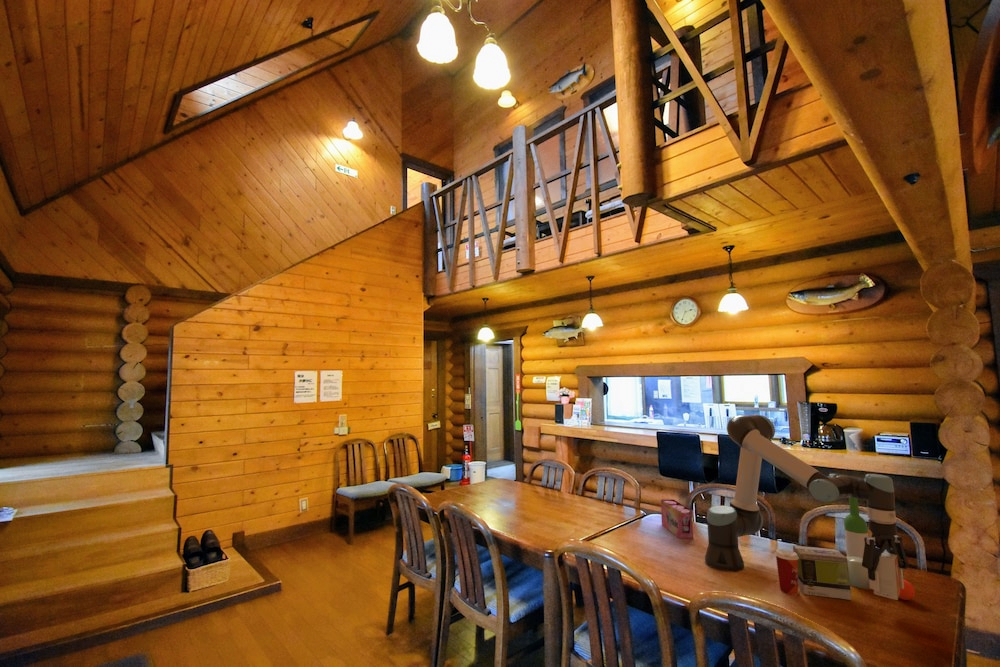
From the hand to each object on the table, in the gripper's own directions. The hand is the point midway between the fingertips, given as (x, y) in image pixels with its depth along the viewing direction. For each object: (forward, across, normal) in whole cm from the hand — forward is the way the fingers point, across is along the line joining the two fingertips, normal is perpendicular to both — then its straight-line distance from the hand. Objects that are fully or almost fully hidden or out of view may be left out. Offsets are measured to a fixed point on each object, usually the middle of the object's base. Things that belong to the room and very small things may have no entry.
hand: (886, 588), depth 153 cm
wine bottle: (+8, +27, +32) cm, 42 cm away
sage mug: (+8, +13, +19) cm, 25 cm away
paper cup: (+9, -20, +20) cm, 30 cm away
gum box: (+10, -18, +92) cm, 94 cm away
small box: (+2, 0, 0) cm, 2 cm away
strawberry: (+8, +15, +6) cm, 18 cm away
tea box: (+8, -8, +18) cm, 21 cm away
